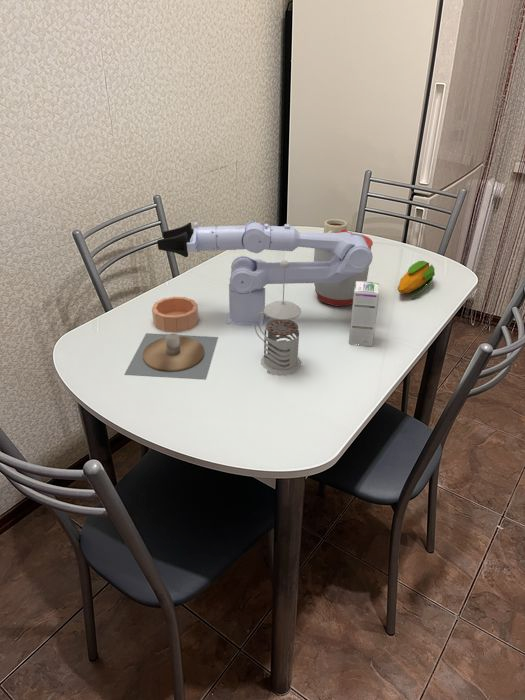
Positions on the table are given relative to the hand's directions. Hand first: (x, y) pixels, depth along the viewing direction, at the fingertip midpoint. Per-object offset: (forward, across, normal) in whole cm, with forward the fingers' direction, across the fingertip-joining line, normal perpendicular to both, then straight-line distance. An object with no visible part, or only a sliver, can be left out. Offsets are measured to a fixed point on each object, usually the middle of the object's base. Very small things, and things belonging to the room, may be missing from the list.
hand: (160, 240), depth 125 cm
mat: (-3, +17, +23) cm, 29 cm away
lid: (-3, +17, +22) cm, 28 cm away
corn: (-68, -21, +23) cm, 75 cm away
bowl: (-1, +1, +21) cm, 21 cm away
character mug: (-47, -42, +20) cm, 66 cm away
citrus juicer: (-45, -15, +22) cm, 52 cm away
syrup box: (-48, +8, +25) cm, 55 cm away
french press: (-27, +19, +24) cm, 41 cm away
